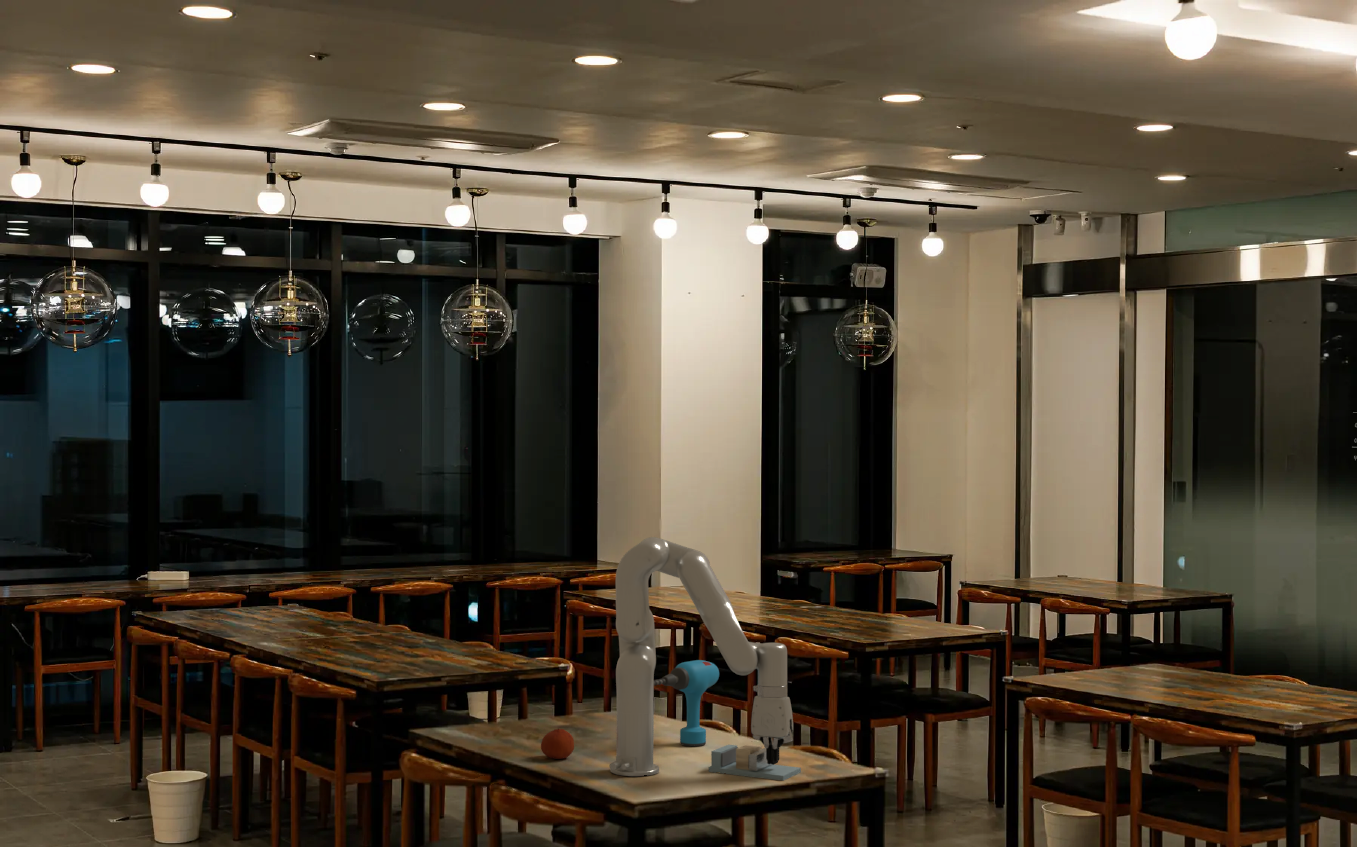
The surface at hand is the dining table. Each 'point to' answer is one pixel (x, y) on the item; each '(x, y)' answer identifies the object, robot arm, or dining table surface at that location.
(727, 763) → the vise
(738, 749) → the block
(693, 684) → the power drill
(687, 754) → the dining table surface
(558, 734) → the fruit
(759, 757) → the block
